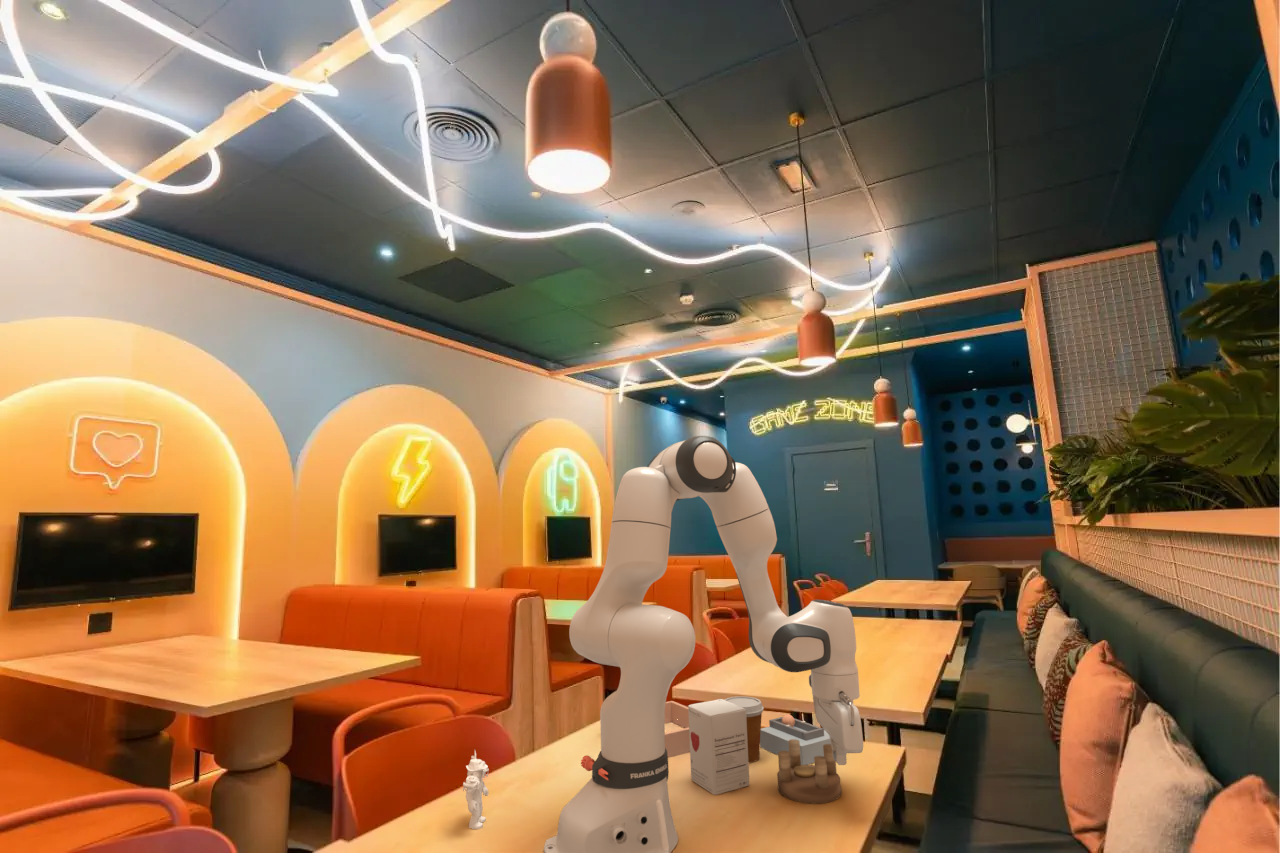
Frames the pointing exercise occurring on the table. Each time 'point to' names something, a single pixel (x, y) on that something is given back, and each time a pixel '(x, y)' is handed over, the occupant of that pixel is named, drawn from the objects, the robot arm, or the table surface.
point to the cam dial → (808, 776)
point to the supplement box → (718, 746)
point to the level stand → (806, 733)
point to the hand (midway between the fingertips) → (839, 762)
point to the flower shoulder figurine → (476, 791)
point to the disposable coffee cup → (751, 723)
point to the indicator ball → (788, 720)
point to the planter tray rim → (677, 739)
